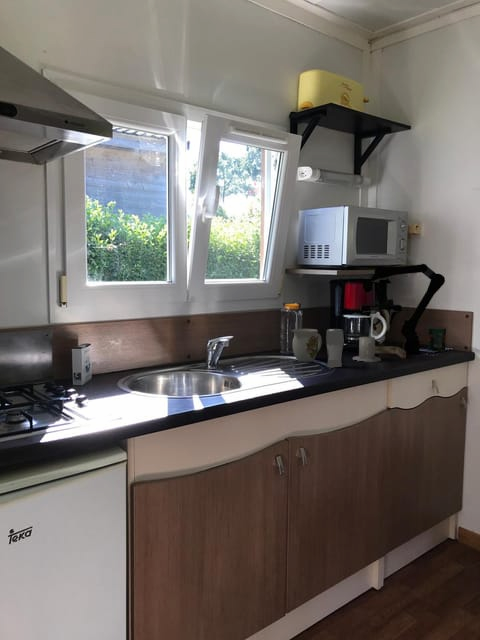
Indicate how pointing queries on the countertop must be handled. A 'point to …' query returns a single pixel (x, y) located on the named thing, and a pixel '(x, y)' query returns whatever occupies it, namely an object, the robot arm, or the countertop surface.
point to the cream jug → (367, 348)
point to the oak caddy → (391, 351)
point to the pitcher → (306, 344)
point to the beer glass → (334, 347)
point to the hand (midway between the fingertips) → (379, 326)
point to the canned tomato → (437, 339)
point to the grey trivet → (367, 360)
